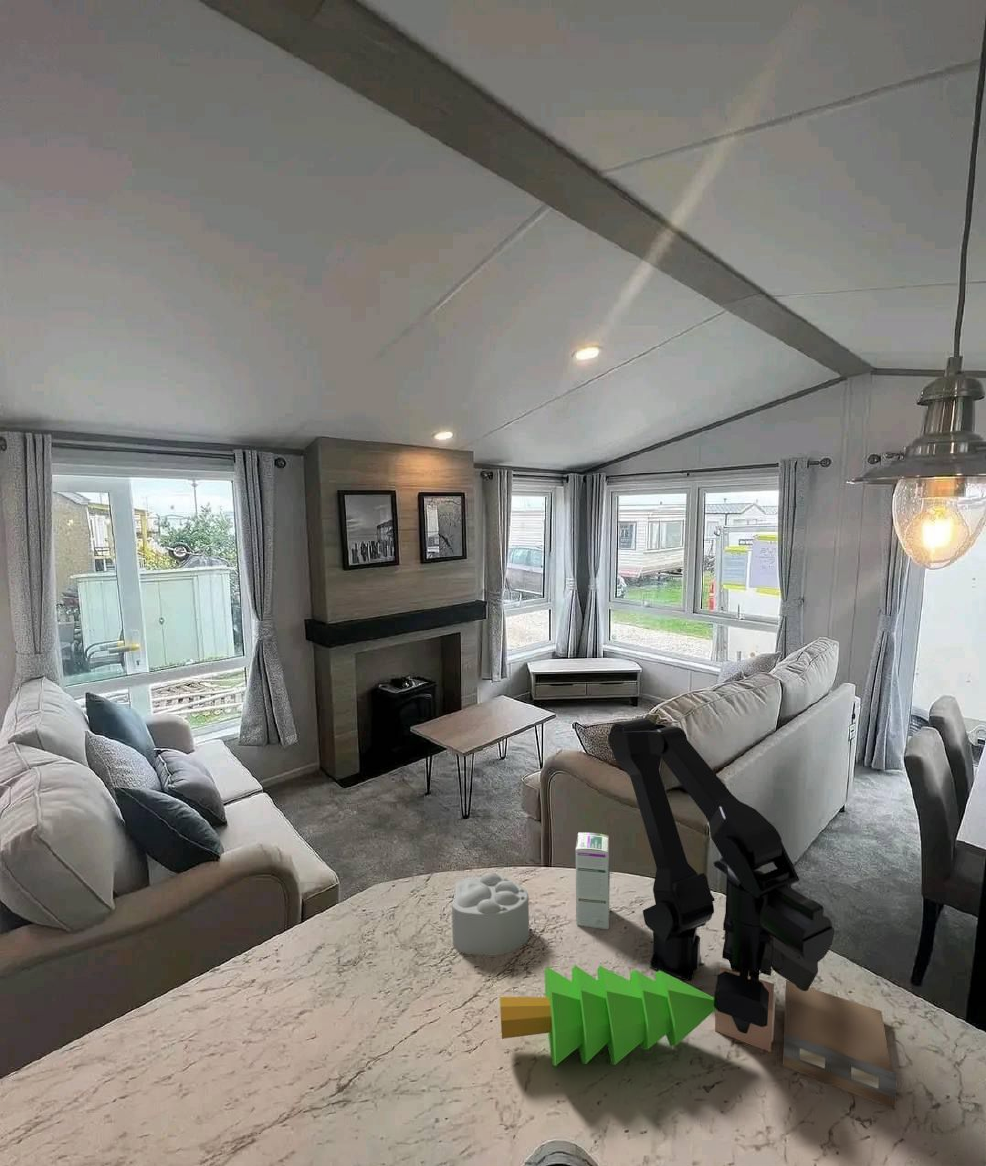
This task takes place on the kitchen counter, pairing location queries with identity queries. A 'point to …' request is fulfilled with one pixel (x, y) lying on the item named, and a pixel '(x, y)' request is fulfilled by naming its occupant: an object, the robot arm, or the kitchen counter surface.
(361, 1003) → the kitchen counter surface
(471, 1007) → the kitchen counter surface
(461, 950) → the lumpy-topped squat cylinder
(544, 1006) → the decorative tree
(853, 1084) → the tan banded flat block
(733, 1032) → the product carton
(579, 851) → the syrup box
